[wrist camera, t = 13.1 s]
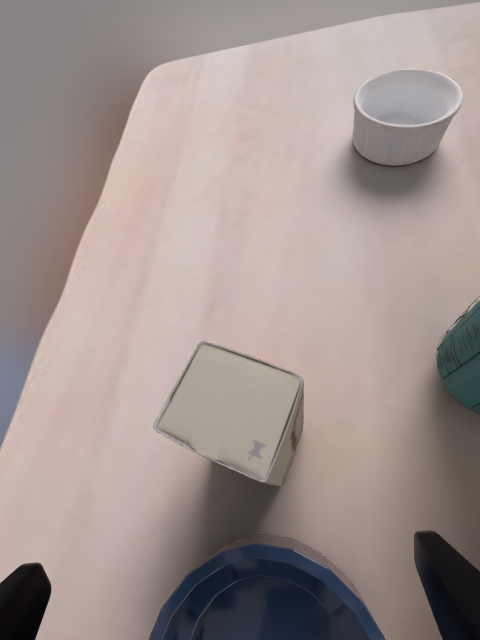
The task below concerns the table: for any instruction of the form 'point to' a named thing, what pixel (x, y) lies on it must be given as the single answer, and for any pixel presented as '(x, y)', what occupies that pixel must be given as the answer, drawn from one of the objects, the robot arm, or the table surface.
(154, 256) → the table surface
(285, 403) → the pushpin icon carton
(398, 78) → the ramekin
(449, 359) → the beverage bottle
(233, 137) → the table surface
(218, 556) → the dish
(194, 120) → the table surface
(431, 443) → the table surface
